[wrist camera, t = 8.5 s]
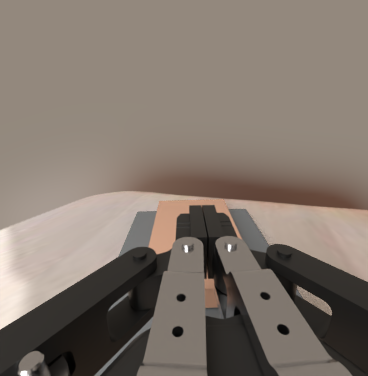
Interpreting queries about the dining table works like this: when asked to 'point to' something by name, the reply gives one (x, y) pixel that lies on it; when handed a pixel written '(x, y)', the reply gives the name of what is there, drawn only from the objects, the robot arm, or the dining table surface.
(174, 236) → the glazed tile
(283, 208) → the dining table surface
